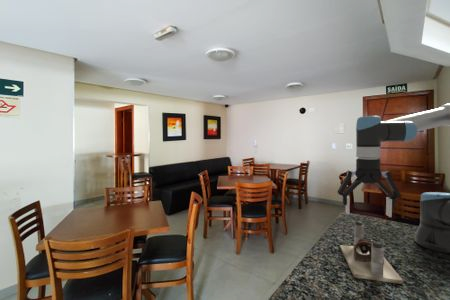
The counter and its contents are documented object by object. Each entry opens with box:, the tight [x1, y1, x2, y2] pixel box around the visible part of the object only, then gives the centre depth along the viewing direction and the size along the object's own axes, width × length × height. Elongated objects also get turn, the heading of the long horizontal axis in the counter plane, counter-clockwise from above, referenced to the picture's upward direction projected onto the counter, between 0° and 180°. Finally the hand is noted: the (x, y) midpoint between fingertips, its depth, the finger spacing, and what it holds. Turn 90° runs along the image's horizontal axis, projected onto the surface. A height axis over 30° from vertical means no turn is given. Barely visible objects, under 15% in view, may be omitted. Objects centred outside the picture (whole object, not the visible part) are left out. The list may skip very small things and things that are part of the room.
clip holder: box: [339, 220, 404, 285], centre depth 82 cm, size 14×22×12 cm, turn 164°
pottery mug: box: [353, 239, 384, 264], centre depth 82 cm, size 12×10×8 cm
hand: (367, 214), depth 81 cm, fingers open, 13 cm apart
